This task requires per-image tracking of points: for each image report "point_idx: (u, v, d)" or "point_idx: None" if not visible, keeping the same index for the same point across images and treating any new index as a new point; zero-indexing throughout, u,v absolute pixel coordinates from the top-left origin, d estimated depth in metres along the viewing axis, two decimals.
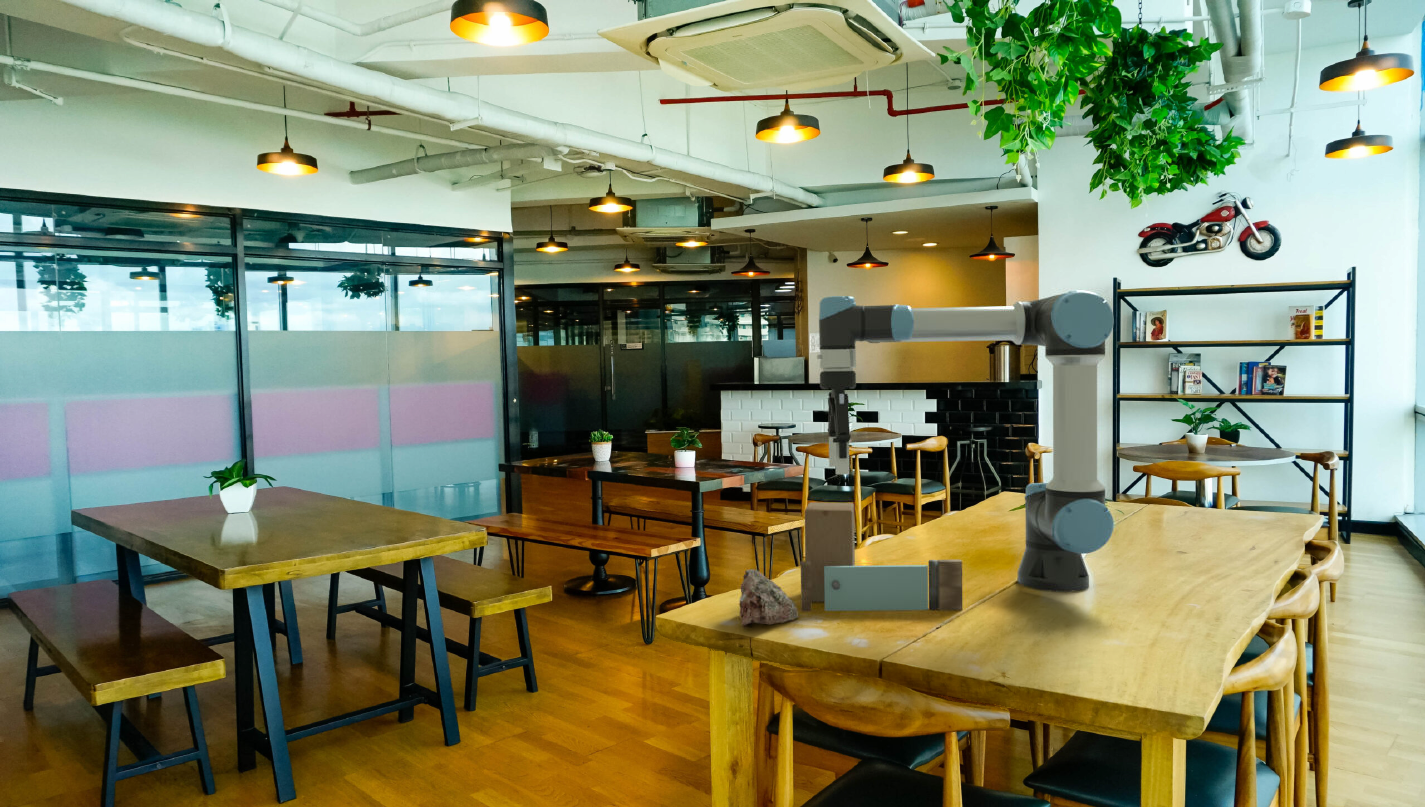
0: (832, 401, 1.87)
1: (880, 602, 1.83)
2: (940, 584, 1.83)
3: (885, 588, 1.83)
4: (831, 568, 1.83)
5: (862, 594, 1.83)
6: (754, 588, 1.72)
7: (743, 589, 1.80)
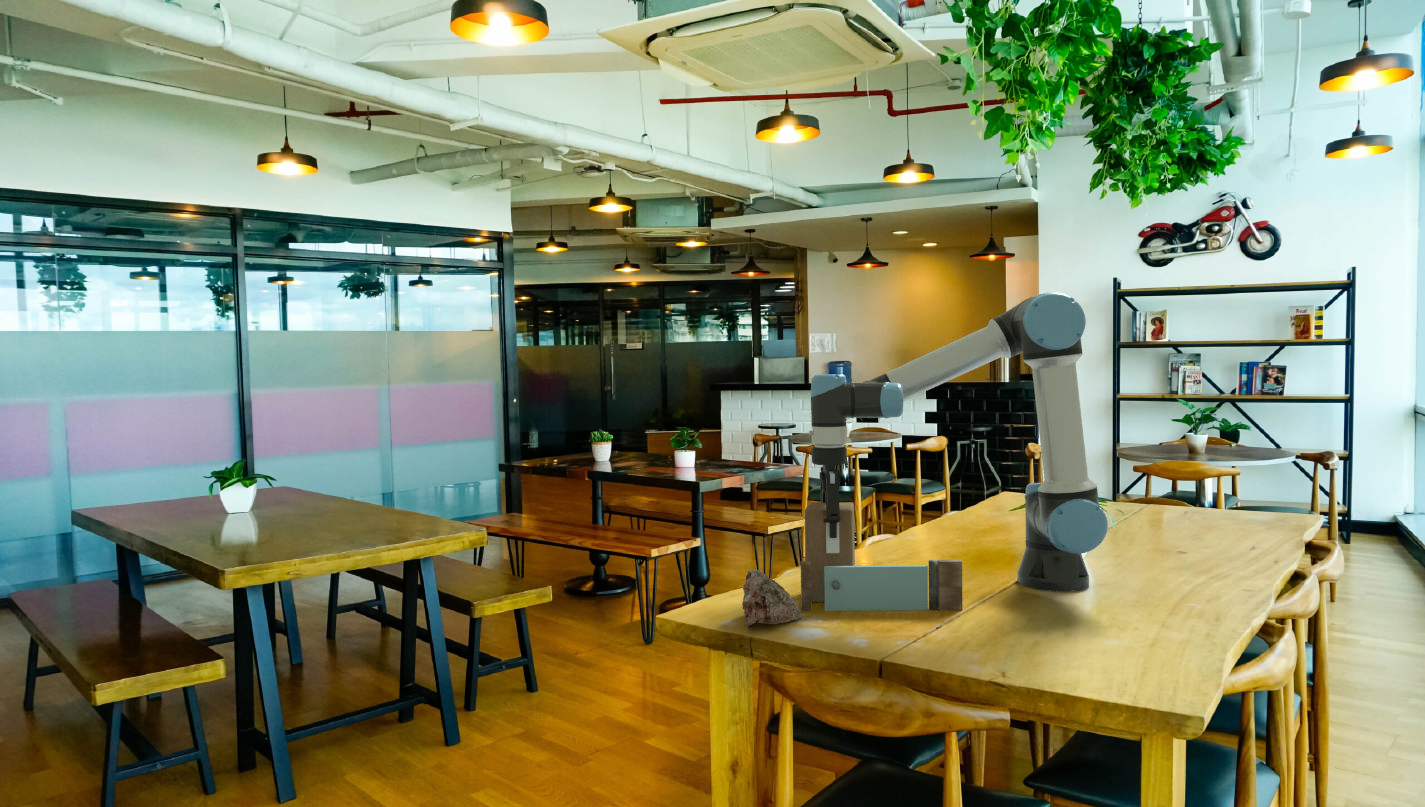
0: (823, 477, 1.91)
1: (880, 602, 1.83)
2: (940, 584, 1.83)
3: (885, 588, 1.83)
4: (831, 568, 1.83)
5: (862, 594, 1.83)
6: (759, 588, 1.72)
7: (746, 589, 1.79)
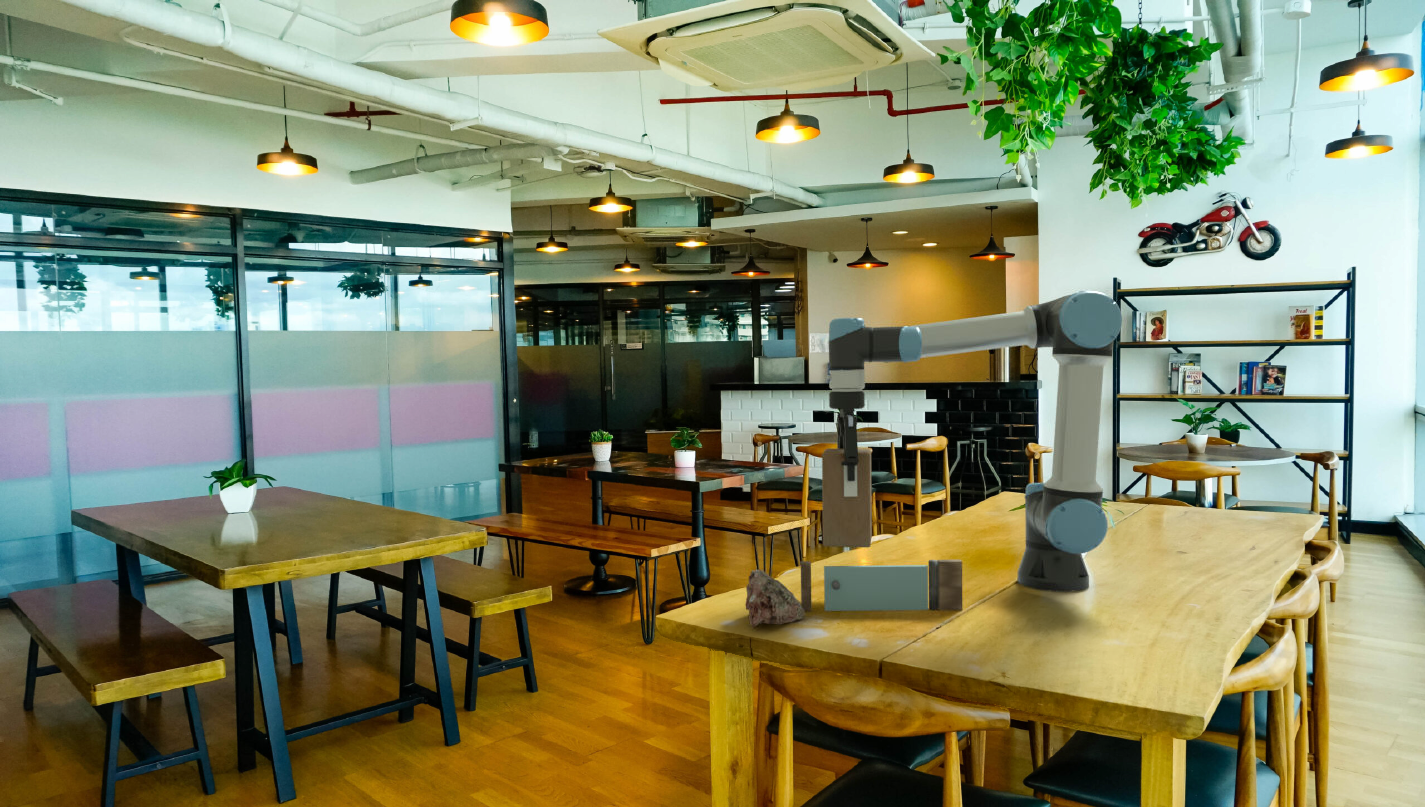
0: (841, 421, 1.91)
1: (880, 602, 1.83)
2: (940, 584, 1.83)
3: (885, 588, 1.83)
4: (831, 568, 1.83)
5: (862, 594, 1.83)
6: (764, 589, 1.72)
7: (749, 590, 1.79)
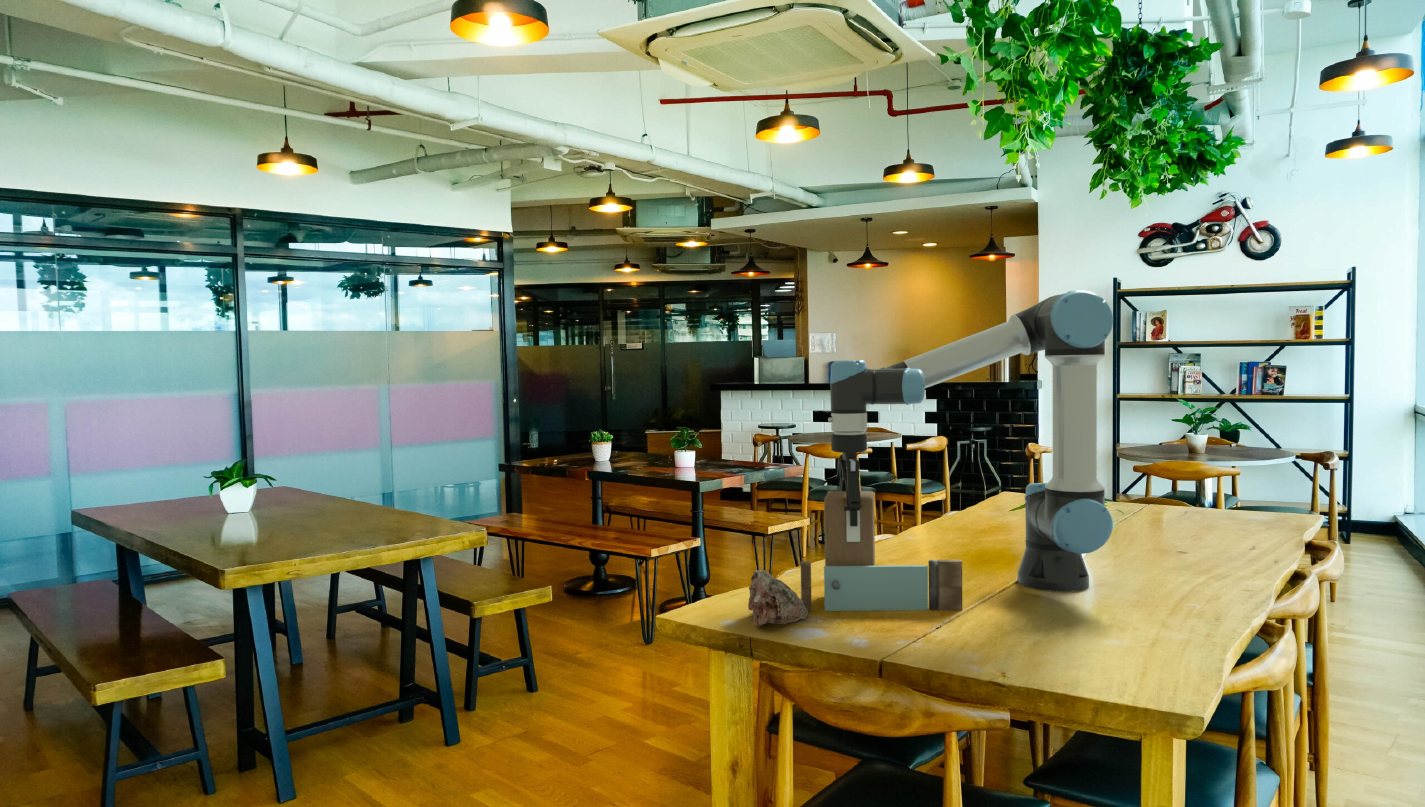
0: (843, 465, 1.88)
1: (880, 602, 1.83)
2: (940, 584, 1.83)
3: (885, 588, 1.83)
4: (831, 568, 1.83)
5: (862, 594, 1.83)
6: (768, 589, 1.72)
7: (752, 590, 1.79)
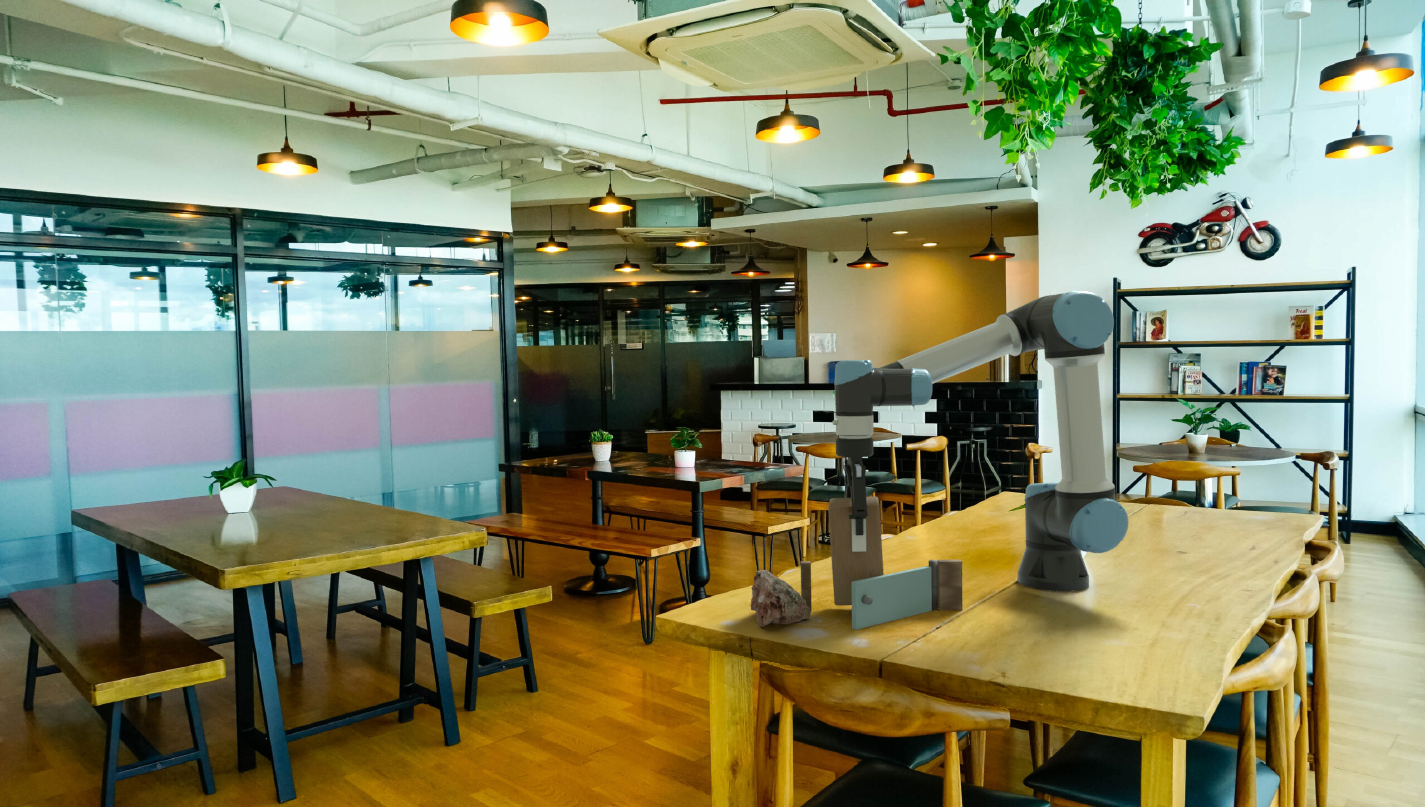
0: (848, 470, 1.79)
1: (898, 611, 1.77)
2: (940, 584, 1.83)
3: (901, 595, 1.77)
4: (861, 583, 1.71)
5: (884, 605, 1.75)
6: (772, 589, 1.72)
7: (755, 590, 1.79)
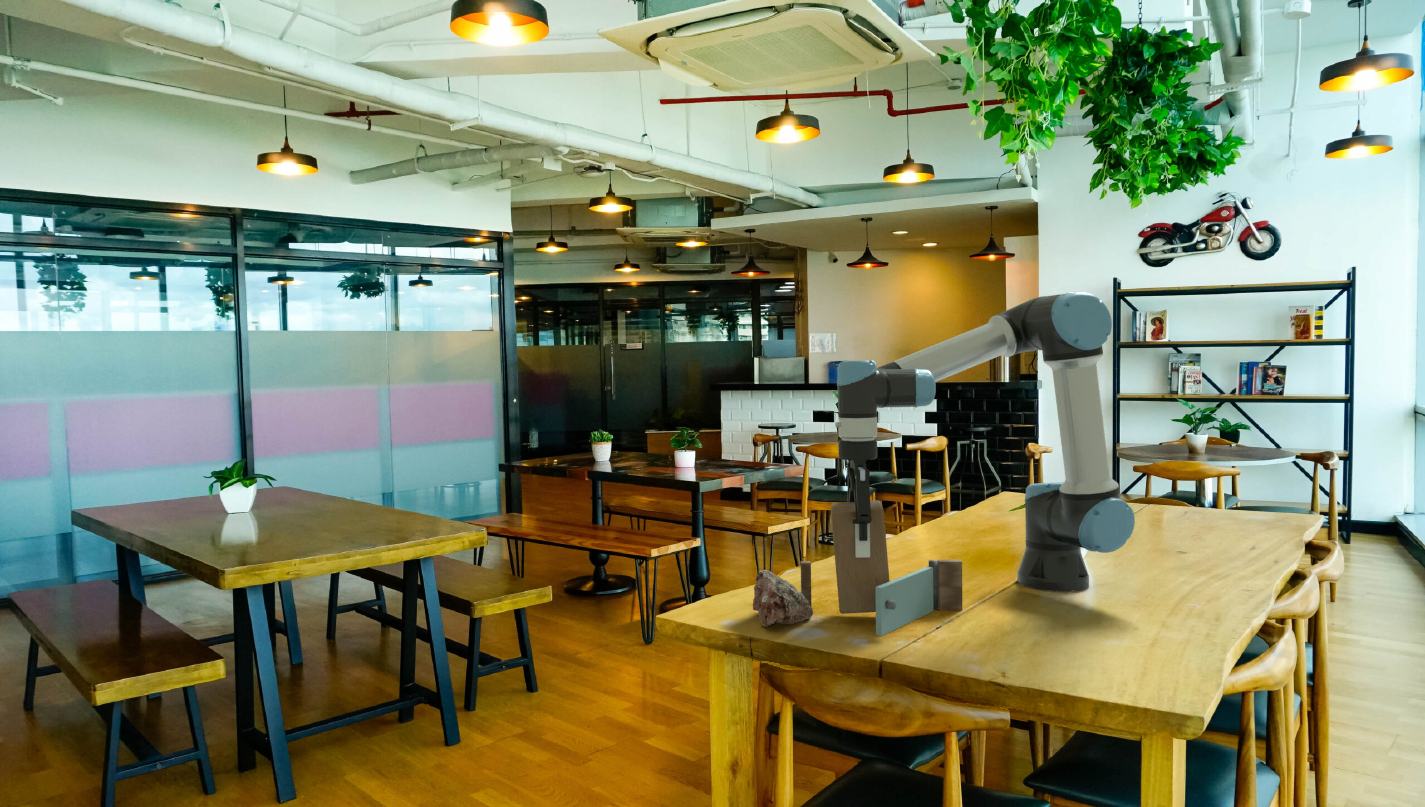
0: (852, 474, 1.74)
1: (910, 613, 1.75)
2: (940, 584, 1.83)
3: (913, 597, 1.76)
4: (884, 587, 1.67)
5: (901, 609, 1.72)
6: (776, 589, 1.72)
7: (757, 590, 1.78)
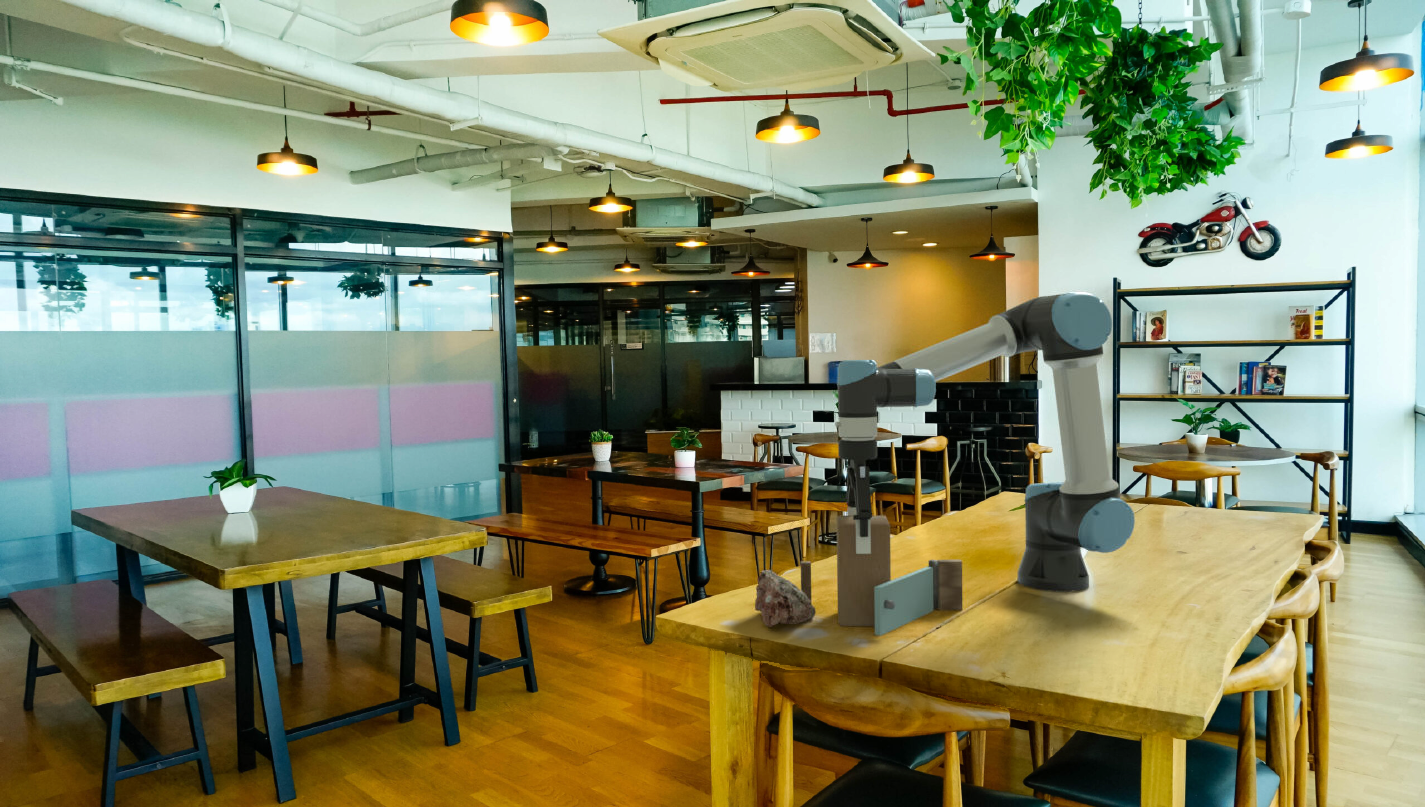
0: (852, 473, 1.74)
1: (910, 613, 1.75)
2: (940, 584, 1.83)
3: (912, 597, 1.76)
4: (883, 587, 1.67)
5: (900, 609, 1.72)
6: (779, 589, 1.72)
7: (760, 590, 1.78)
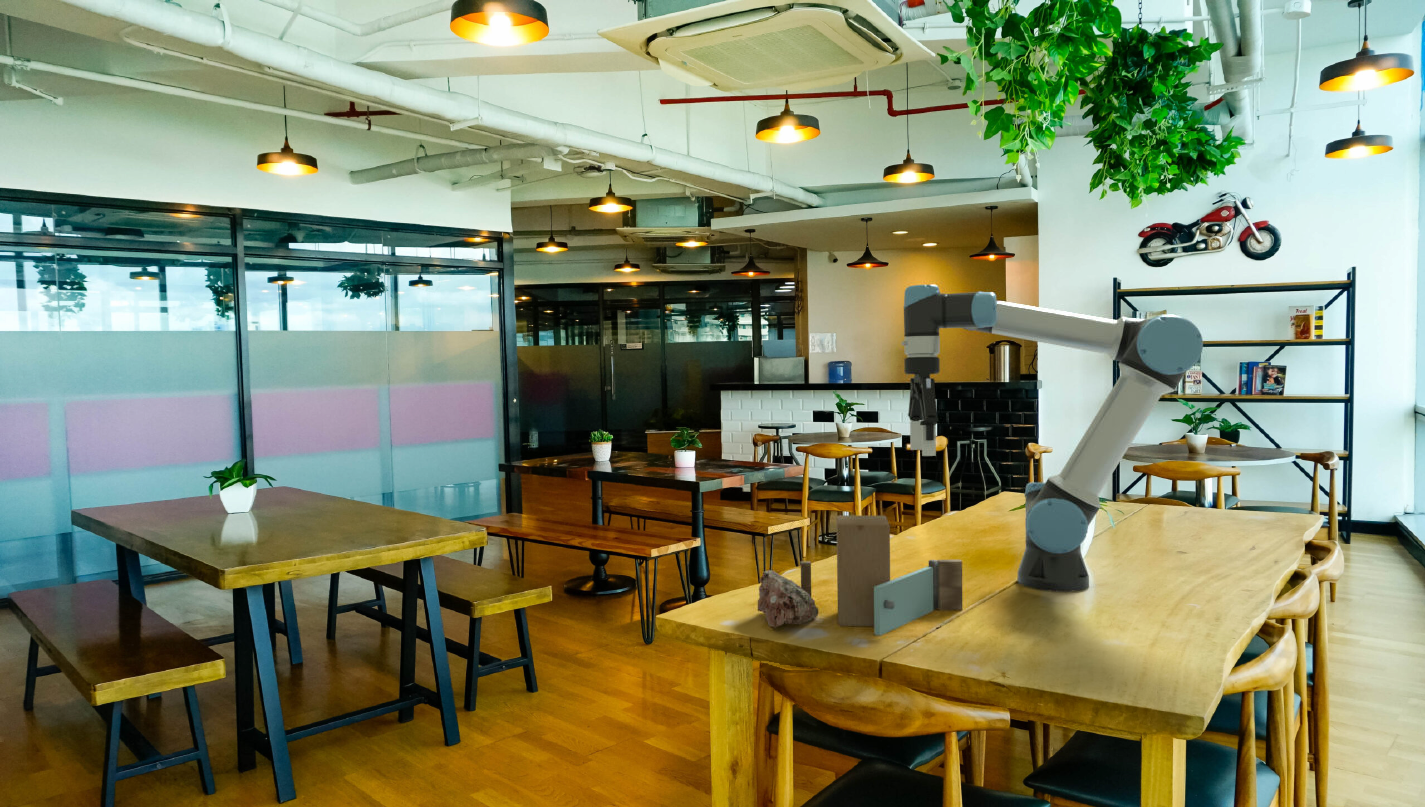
0: (917, 386, 1.95)
1: (909, 613, 1.75)
2: (940, 584, 1.83)
3: (912, 597, 1.76)
4: (883, 587, 1.67)
5: (900, 609, 1.72)
6: (784, 589, 1.72)
7: (763, 591, 1.78)
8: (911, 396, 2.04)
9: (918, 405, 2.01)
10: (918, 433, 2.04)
